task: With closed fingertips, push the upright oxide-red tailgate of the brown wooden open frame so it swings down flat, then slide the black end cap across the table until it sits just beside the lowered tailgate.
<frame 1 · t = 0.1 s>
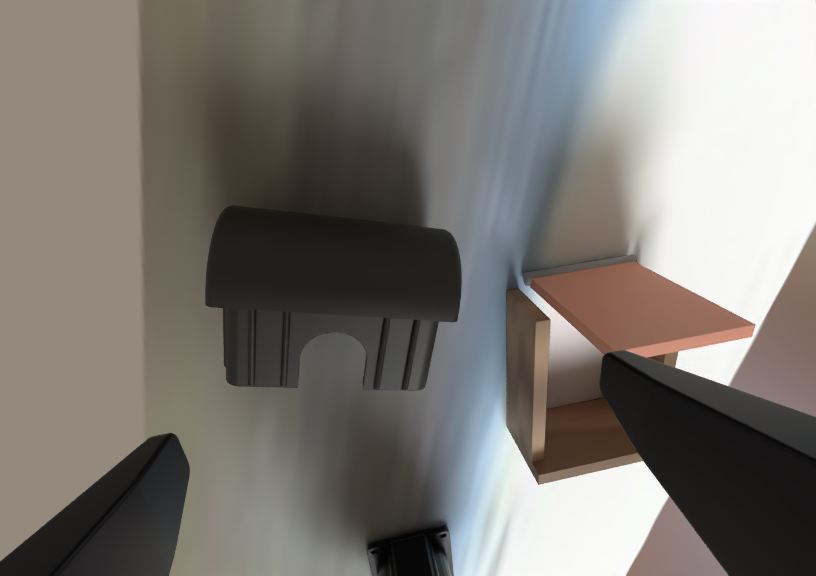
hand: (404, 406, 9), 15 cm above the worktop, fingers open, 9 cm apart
tailgate: (621, 298, 21), point 4 cm above the worktop, hinge at 0.0°
brown wooden open frame: (569, 347, 27), on the worktop
end cap: (336, 265, 23), on the worktop
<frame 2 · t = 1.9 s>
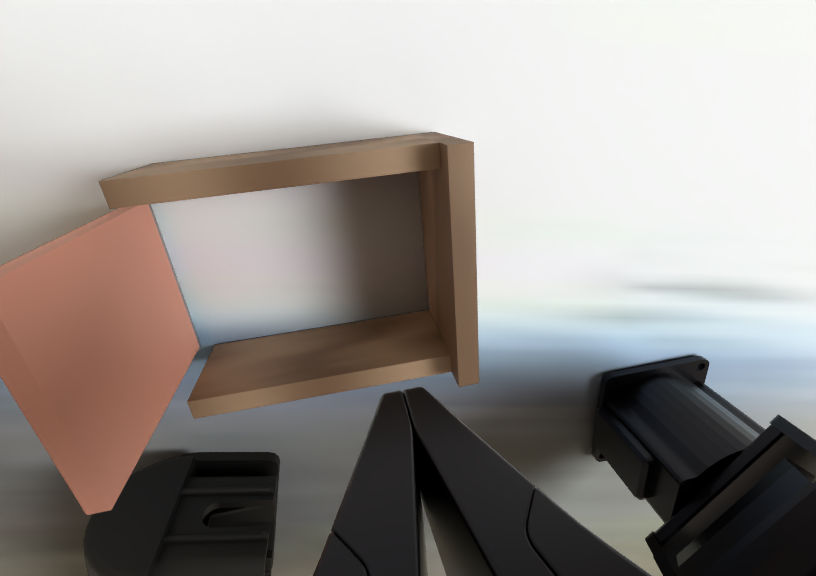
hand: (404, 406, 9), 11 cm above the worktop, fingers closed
tailgate: (122, 325, 13), point 4 cm above the worktop, hinge at 0.0°
brown wooden open frame: (310, 254, 18), on the worktop
end cap: (211, 509, 23), on the worktop
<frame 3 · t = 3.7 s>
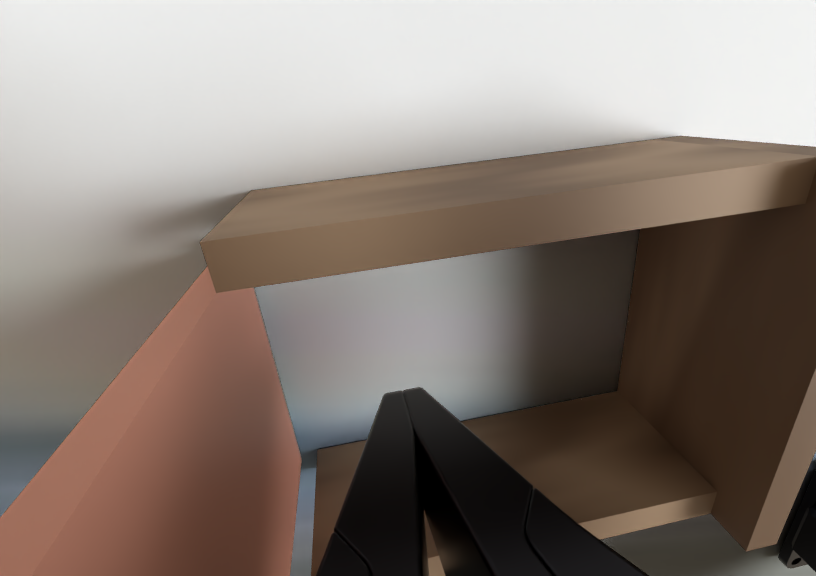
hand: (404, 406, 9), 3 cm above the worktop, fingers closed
tailgate: (222, 495, 7), point 4 cm above the worktop, hinge at 0.5°, touching gripper
brown wooden open frame: (469, 321, 12), on the worktop
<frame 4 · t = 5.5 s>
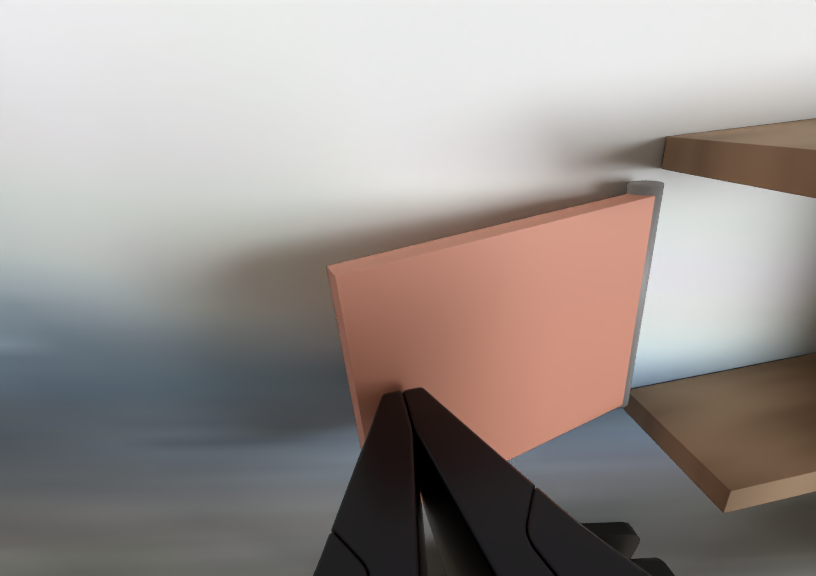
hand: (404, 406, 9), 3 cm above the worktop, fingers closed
tailgate: (517, 346, 10), point 2 cm above the worktop, hinge at 74.6°
brown wooden open frame: (789, 268, 13), on the worktop
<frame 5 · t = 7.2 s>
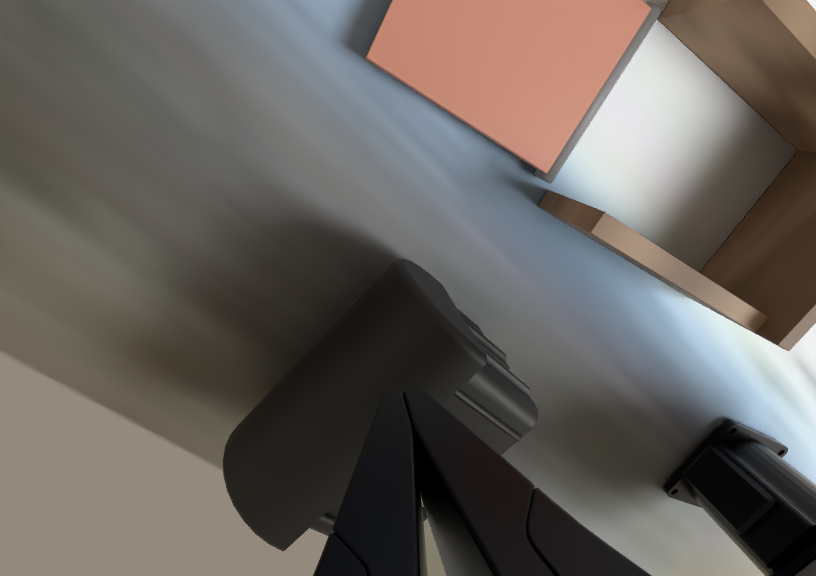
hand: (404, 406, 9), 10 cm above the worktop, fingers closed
tailgate: (515, 39, 15), point 1 cm above the worktop, hinge at 90.3°
brown wooden open frame: (678, 169, 18), on the worktop
end cap: (368, 353, 20), on the worktop
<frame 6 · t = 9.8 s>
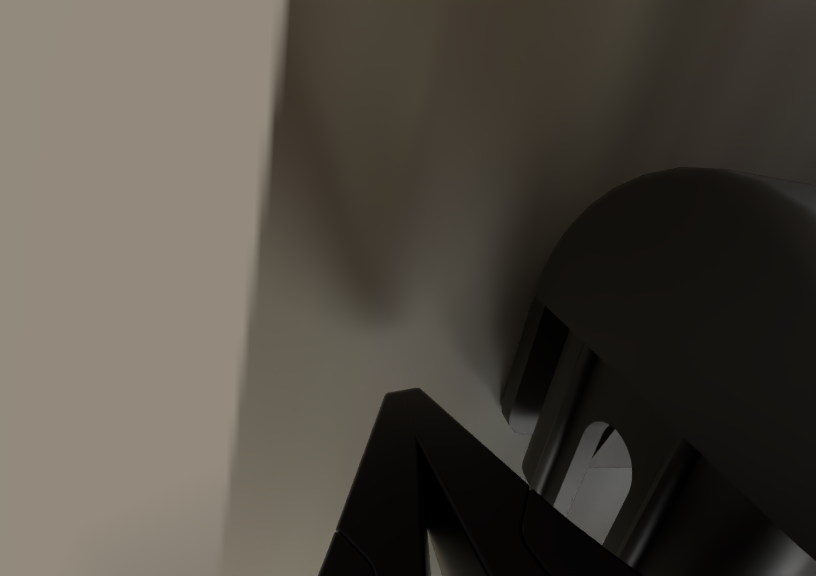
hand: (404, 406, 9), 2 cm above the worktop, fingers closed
end cap: (681, 310, 11), on the worktop, touching gripper
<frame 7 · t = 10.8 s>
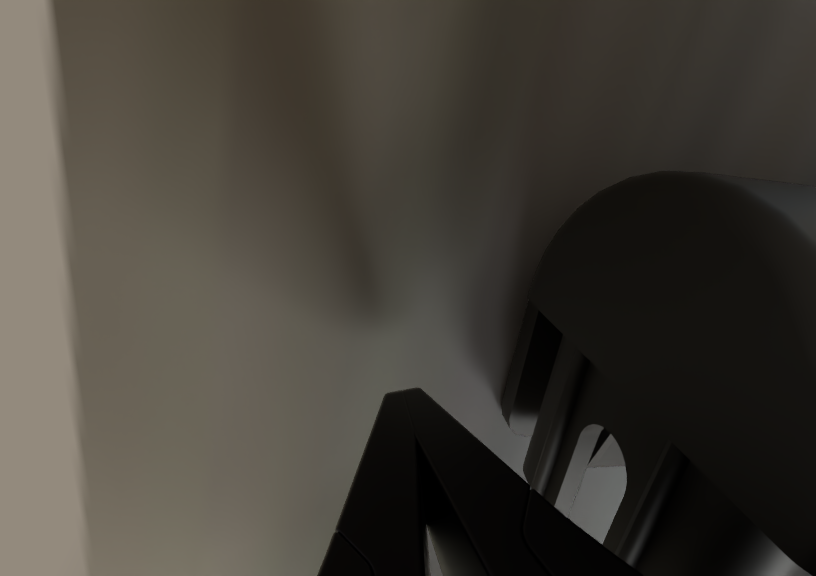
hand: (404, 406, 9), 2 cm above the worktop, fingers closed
end cap: (679, 305, 11), on the worktop, touching gripper
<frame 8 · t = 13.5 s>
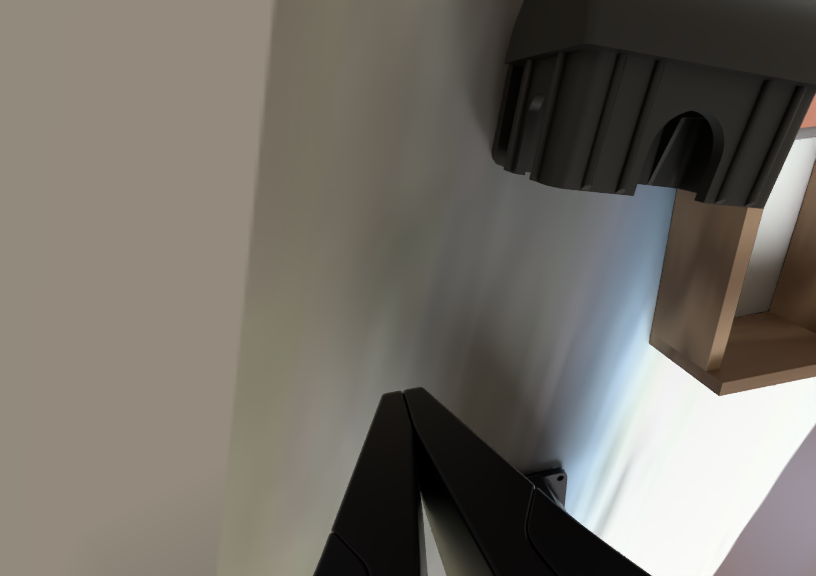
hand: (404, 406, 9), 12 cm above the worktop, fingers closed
tailgate: (798, 42, 19), point 1 cm above the worktop, hinge at 90.3°
brown wooden open frame: (736, 242, 23), on the worktop
end cap: (595, 93, 19), on the worktop
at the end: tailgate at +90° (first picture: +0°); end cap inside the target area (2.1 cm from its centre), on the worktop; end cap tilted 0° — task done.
